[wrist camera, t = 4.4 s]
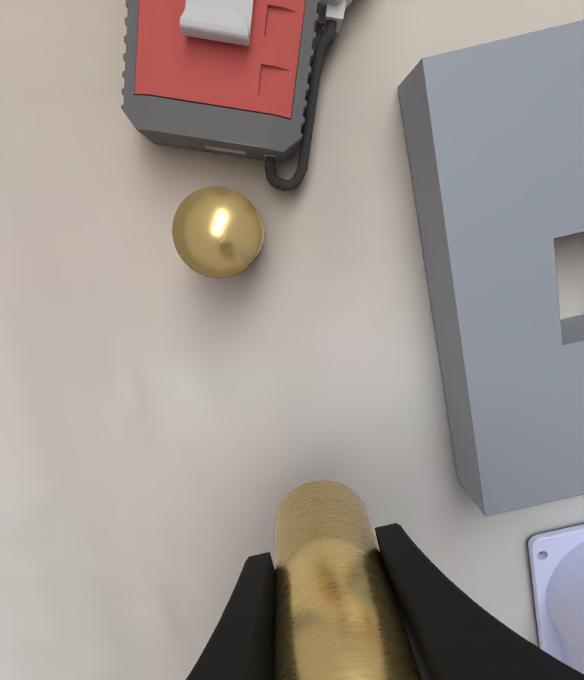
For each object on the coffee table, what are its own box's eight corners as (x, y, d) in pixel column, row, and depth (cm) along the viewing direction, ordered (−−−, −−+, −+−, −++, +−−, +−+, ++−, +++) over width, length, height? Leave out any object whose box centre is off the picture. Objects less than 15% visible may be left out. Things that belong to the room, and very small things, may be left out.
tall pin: (375, 550, 15) (489, 909, 7) (287, 571, 15) (300, 950, 7) (357, 471, 14) (462, 772, 6) (265, 493, 14) (252, 817, 6)
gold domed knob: (271, 259, 19) (271, 266, 15) (204, 275, 19) (186, 286, 15) (254, 188, 18) (249, 176, 15) (184, 205, 18) (161, 198, 15)
